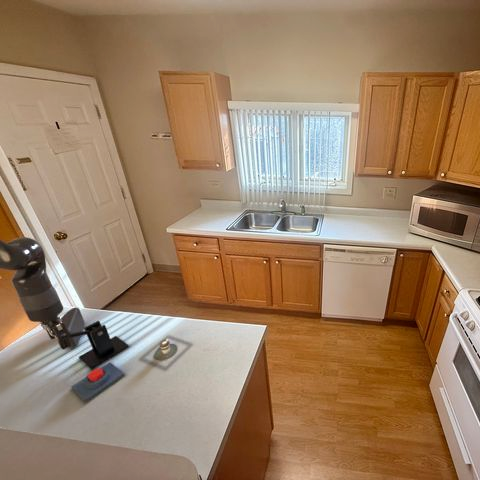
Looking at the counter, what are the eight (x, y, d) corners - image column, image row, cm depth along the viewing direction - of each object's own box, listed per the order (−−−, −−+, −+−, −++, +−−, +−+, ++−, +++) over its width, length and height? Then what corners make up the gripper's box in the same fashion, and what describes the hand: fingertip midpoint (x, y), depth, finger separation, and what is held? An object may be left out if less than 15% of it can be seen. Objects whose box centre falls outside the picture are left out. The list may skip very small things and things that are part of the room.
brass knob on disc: (140, 359, 94) (137, 349, 92) (167, 336, 105) (165, 327, 103) (165, 369, 91) (162, 359, 89) (191, 345, 101) (189, 335, 99)
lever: (59, 345, 81) (60, 337, 81) (52, 338, 83) (53, 331, 83) (103, 335, 92) (105, 329, 92) (96, 330, 94) (98, 323, 94)
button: (93, 383, 82) (91, 379, 81) (87, 378, 83) (85, 374, 83) (106, 375, 85) (104, 371, 84) (100, 370, 86) (99, 366, 86)
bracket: (91, 370, 89) (79, 342, 84) (79, 359, 93) (67, 332, 88) (128, 347, 99) (120, 321, 94) (116, 338, 103) (107, 312, 97)
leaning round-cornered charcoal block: (71, 326, 107) (63, 308, 103) (86, 322, 109) (78, 305, 106) (61, 353, 94) (51, 334, 91) (77, 349, 97) (69, 330, 93)
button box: (85, 402, 79) (82, 396, 78) (72, 389, 83) (69, 382, 81) (124, 375, 88) (122, 369, 87) (111, 364, 91) (108, 358, 90)
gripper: (14, 300, 76) (36, 341, 83) (33, 317, 70) (55, 359, 77) (48, 288, 83) (65, 327, 89) (68, 303, 77) (85, 343, 83)
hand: (61, 342), depth 83 cm, fingers open, 8 cm apart
